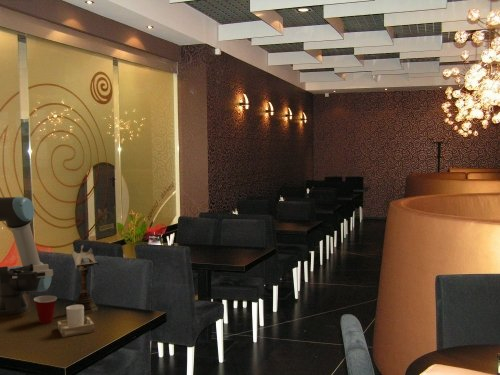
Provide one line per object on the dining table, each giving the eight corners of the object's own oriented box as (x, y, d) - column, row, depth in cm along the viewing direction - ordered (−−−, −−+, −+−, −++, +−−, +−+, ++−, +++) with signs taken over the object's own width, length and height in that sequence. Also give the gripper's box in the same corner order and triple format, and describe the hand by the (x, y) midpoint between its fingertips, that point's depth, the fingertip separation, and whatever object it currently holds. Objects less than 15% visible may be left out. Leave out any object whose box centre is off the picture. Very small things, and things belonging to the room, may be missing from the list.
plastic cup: (50, 325, 255) (49, 301, 254) (30, 324, 257) (28, 300, 256) (62, 318, 265) (61, 295, 265) (43, 318, 267) (41, 294, 267)
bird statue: (105, 313, 272) (102, 245, 270) (78, 318, 266) (75, 248, 264) (97, 306, 287) (94, 241, 285) (72, 310, 281) (69, 243, 278)
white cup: (67, 332, 242) (66, 310, 241) (66, 327, 249) (65, 305, 248) (85, 329, 245) (84, 307, 244) (83, 324, 252) (82, 303, 252)
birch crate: (57, 328, 250) (57, 321, 250) (88, 323, 257) (87, 316, 257) (62, 337, 238) (62, 329, 238) (94, 331, 245) (94, 324, 244)
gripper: (-3, 278, 242) (47, 272, 252) (1, 290, 220) (55, 283, 230) (-4, 262, 241) (46, 256, 252) (0, 272, 220) (54, 266, 230)
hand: (50, 269), depth 241 cm, fingers open, 13 cm apart
